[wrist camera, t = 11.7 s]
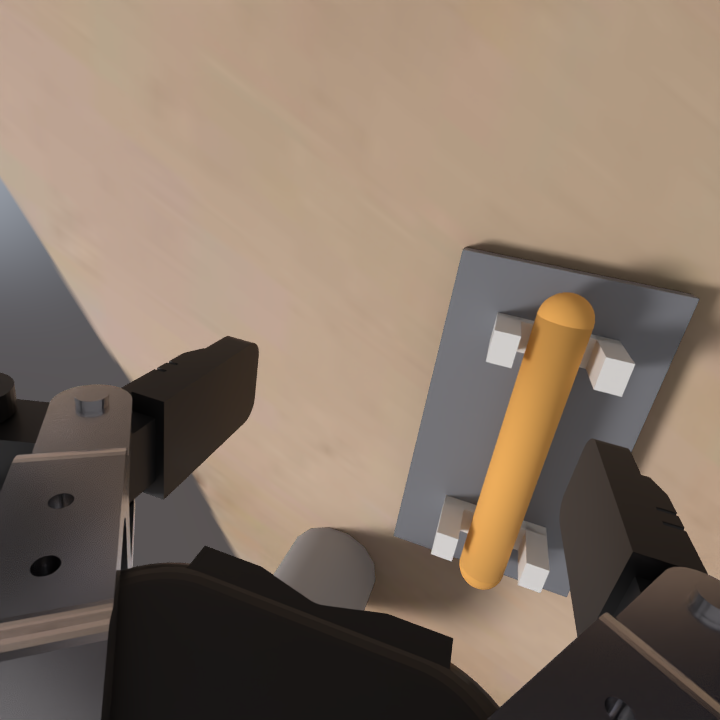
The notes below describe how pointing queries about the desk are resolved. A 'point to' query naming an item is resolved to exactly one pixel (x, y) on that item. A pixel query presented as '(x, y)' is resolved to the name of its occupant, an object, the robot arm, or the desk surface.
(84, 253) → the desk surface
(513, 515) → the orange rod
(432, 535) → the board
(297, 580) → the cup
